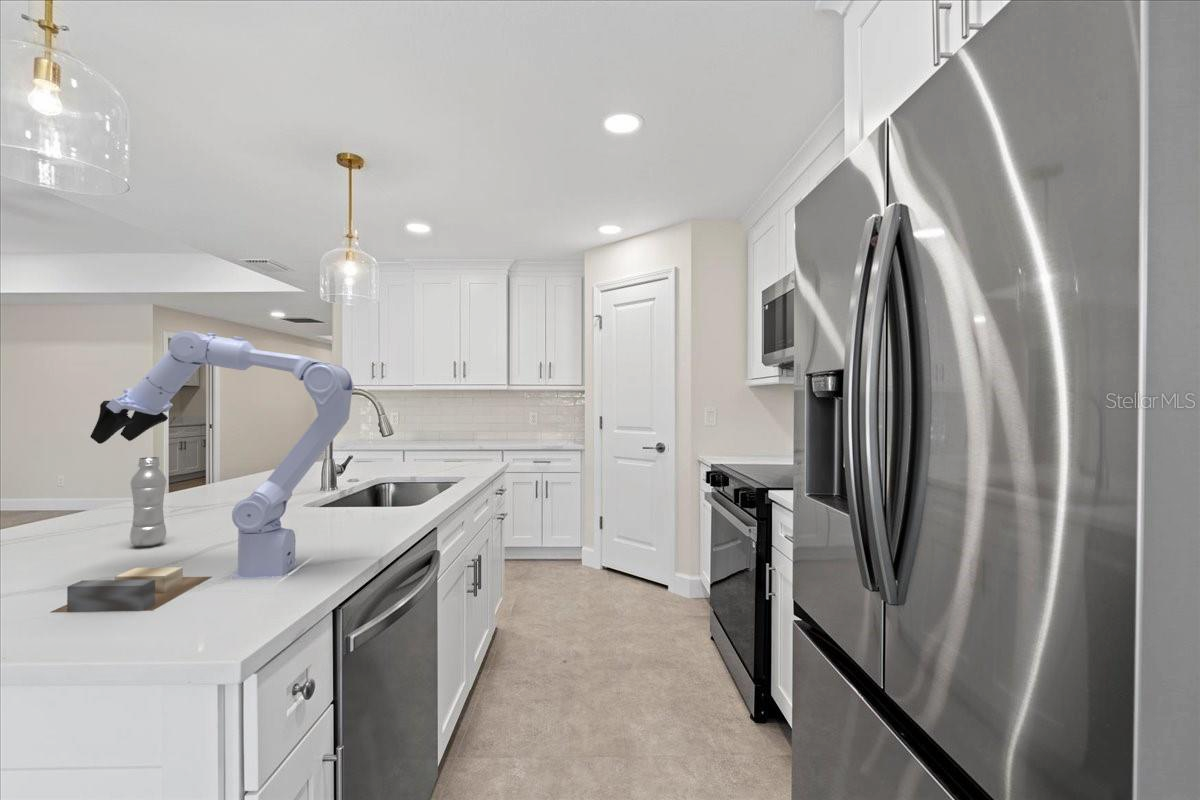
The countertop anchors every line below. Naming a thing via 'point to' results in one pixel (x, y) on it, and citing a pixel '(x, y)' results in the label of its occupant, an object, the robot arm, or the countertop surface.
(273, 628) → the countertop surface
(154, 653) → the countertop surface
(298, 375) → the robot arm
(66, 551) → the countertop surface
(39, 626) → the countertop surface
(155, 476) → the plastic bottle
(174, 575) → the cream wooden block
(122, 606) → the board
